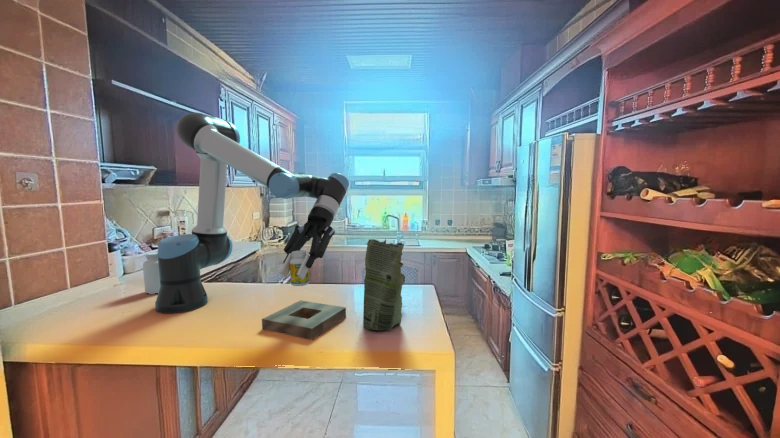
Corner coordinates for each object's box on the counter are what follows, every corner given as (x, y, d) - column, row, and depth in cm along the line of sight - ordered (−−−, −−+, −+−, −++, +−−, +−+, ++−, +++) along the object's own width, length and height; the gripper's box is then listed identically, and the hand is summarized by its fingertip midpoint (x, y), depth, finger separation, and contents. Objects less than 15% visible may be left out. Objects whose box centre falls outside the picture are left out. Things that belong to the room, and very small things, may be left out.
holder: (262, 329, 97) (261, 318, 97) (300, 309, 112) (300, 300, 112) (312, 339, 90) (311, 328, 90) (345, 316, 106) (345, 307, 105)
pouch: (364, 318, 104) (363, 236, 102) (404, 318, 104) (403, 236, 102) (361, 334, 93) (359, 242, 91) (405, 333, 93) (405, 242, 91)
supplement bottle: (305, 280, 105) (304, 249, 104) (312, 284, 100) (311, 251, 99) (288, 283, 102) (286, 251, 101) (294, 287, 97) (292, 254, 96)
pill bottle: (139, 294, 130) (136, 254, 128) (157, 287, 138) (154, 250, 136) (158, 295, 128) (155, 255, 127) (174, 288, 136) (172, 251, 135)
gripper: (352, 221, 109) (324, 286, 96) (305, 219, 117) (273, 279, 103) (343, 205, 104) (312, 271, 91) (294, 204, 111) (258, 266, 98)
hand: (291, 275), depth 97 cm, fingers closed on supplement bottle, 5 cm apart
